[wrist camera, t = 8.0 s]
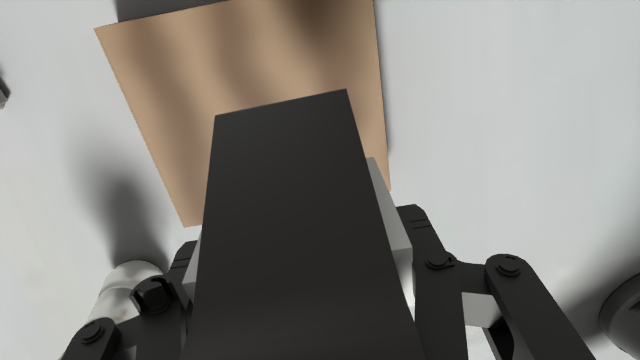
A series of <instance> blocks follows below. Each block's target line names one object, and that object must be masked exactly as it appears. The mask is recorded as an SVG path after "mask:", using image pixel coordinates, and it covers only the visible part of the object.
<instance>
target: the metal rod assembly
mask: <svg viewBox="0 0 640 360" xmlns="http://www.w3.org/2000/svg"><path fill="white" fill-rule="evenodd" d="M7 101H8V100H7V98H6V97H5V95H4V94H3V92H2V91H1V89H0V109H3V108H4V106H5V103H6V102H7Z"/></svg>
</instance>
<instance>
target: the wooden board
mask: <svg viewBox="0 0 640 360" xmlns="http://www.w3.org/2000/svg"><path fill="white" fill-rule="evenodd" d="M94 31H95V33H96V35H97V37H98V39H99V42H100V44H101V46H102V48H103V50H104V53H105V55H106V57H107V59H108V61H109V64H110V66H111V68H112V70H113V72H114V75H115V77H116V79H117V81H118V83H119V86H120V88H121V90H122V92H123V94H124V97H125V99H126V101H127V103H128V105H129V108H130V110H131V112H132V114H133V117H134V119H135V121H136V123H137V125H138V128H139V130H140V132H141V134H142V136H143V139H144V141H145V143H146V145H147V147H148V150H149V152H150V154H151V156H152V158H153V161H154V163H155V165H156V167H157V169H158V172H159V174H160V176H161V178H162V180H163V183H164V185H165V187H166V189H167V191H168V194H169V196H170V198H171V200H172V202H173V205H174V207H175V209H176V211H177V214H178V216H179V218H180V220H181V222H182V225H183V227H184V228H185V227H190V226H196V225H202V223H203V214H204V206H205V197H206V188H207V180H208V171H209V162H210V153H211V145H212V136H213V127H214V119H215V115H218V114H223V113H228V112H233V111H238V110H243V109H247V108H252V107H257V106H262V105H267V104H272V103H277V102H281V101H286V100H291V99H296V98H301V97H306V96H311V95H315V94H320V93H325V92H330V91H335V90H340V89H345V88H346V89H347V93H348V96H349V100H350V103H351V107H352V111H353V114H354V118H355V121H356V125H357V129H358V132H359V136H360V139H361V143H362V146H363V150H364V154H365V157H366V158H369V157H374V158H375V160H376V163H377V165H378V167H379V170H380V172H381V174H382V177H383V179H384V182H385V184H386V186H387V189H388V191H391V185H390V175H389V164H388V154H387V143H386V133H385V122H384V111H383V101H382V90H381V80H380V69H379V59H378V48H377V38H376V27H375V17H374V6H373V0H226V1H221V2H216V3H211V4H206V5H201V6H196V7H191V8H186V9H182V10H177V11H172V12H167V13H162V14H157V15H152V16H147V17H142V18H138V19H133V20H128V21H123V22H118V23H114V24H110V25H106V26H102V27H98V28H94Z"/></svg>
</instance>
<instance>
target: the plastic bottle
mask: <svg viewBox="0 0 640 360" xmlns="http://www.w3.org/2000/svg"><path fill="white" fill-rule="evenodd" d="M154 275H163V273H162V271H161V270H160V269H159V268H158V267H156V266H155V265H153V264H151V263H149V262H146V261H141V260H134V261H129V262H126V263H122V264H120V265H119V266H117V267H116V268H115V269H114V270H113V271H112V272H111V273H110V274H109V275H108V276H107V278H106V279H105V281H104V284H103V286H102V288H101V291H100V294H99V297H98V300H97V302H96V304H95V306H94V307H93V309H92V311H91V313H90V315H89V317H88V319H87V321H86V323H85V324H84V325H86V324H88V323H89V322H91V321H93V320H95V319H98V318H101V317H109V318H111V319H113V320H114V322H115V323H116V324H119V323H121V322H124V321H126V320H128V319H131V318H133V317H135V316H138V315H139V313H138V311H137V309H136V308H135V306H134V304H133V303H132V301H131V299H130V298H129V296H130V293H131V291H132V290H133V289H134V287H135V286H136V285H137V284H139V283H140V282H141V281H143V280H144V279H146V278H148V277H151V276H154ZM64 353H65V352H64ZM64 353H63V354H64ZM63 354H62V356H63ZM62 356H61V357H60V358H59V359H58V360H61V358H62Z"/></svg>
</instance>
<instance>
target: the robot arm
mask: <svg viewBox="0 0 640 360" xmlns="http://www.w3.org/2000/svg"><path fill="white" fill-rule="evenodd" d="M366 161H367V164H368V168H369V172H370V175H371V179H372V182H373V186H374V189H375V193H376V197H377V200H378V204H379V207H380V211H381V215H382V218H383V222H384V225H385V229H386V232H387V236H388V240H389V243H390V247H391V250H392V254H393V258H394V261H395V265H396V268H397V272H398V275H399V279H400V282H401V285H402V289H403V292H404V295H405V298H406V301H407V304H408V307H411V306H415V322H414V323H415V326H416V329H417V332H418V335H419V338H420V341H421V344H422V347H423V351H424V354H425V358H426V360H468V350H467V340H466V330H465V325H469V326H476V327H482V329H483V332H484V334H485V336H486V338H487V341H488V343H489V345H490V347H491V350H492V352H493V354H494V356H495V359H496V360H596V359H595V357H594V356H593V354H592V353H591V351H590V350H589V349H588V347H587V346H586V344H585V343H584V341H583V340H582V339H581V337H580V336H579V334H578V333H577V332H576V330H575V329H574V327H573V326H572V324H571V323H570V322H569V320H568V319H567V317H566V316H565V314H564V313H563V312H562V310H561V309H560V307H559V306H558V304H557V303H556V302H555V300H554V299H553V297H552V296H551V294H550V293H549V292H548V290H547V289H546V287H545V286H544V284H543V283H542V282H541V280H540V279H539V277H538V276H537V274H536V273H535V272H534V270H533V269H532V267H531V266H530V265H529V264H528V263H527V262H526V261H525V260H523V259H521V258H519V257H517V256H514V255H510V254H497V255H493V256H491V257H490V258H488V259H487V261H486V263H485V265H483V264H471V263H465V262H461V261H458V260H457V258H456V257H455V256H454V255H452V254H451V253H449V252H447V251H446V250H445V249H444V247H443V245H442V243H441V241H440V239H439V237H438V236H437V234H436V232H435V230H434V228H433V227H432V225H431V223H430V221H429V220H428V217H427V215H426V213H425V212H424V210H423V209H421V208H420V207H419V206H417V205H416V204H412V205H405V206H399V207H395V205H394V203H393V200H392V198H391V196H390V193H389V191H388V189H387V186H386V184H385V182H384V179H383V177H382V174H381V172H380V170H379V167H378V165H377V163H376V160H375V158H374V157H369V158H366ZM201 232H202V231H201ZM200 241H201V233H200V236H199V239H198V240H195V241H189V242H185V243H184V244H183V246H182V247H181V248H180V249H179V250H178V251H177V253H176V255H175V258H174V260H173V261H174V262H172V265H171V267H170V270H169V272H168V274H167V276H166V275H154V276H151V277H148V278H146V279H144V280H143V281H141V282H140V283H139V284H137V285H136V286H135V287H134V289H133V290H132V291H131V293H130V296H129V298H130V299H131V301H132V303H133V304H134V306H135V308H136V309H137V311H138V313H139V315H138V316H135V317H133V318H131V319H128V320H126V321H124V322H121V323H119V324H116V323H115V322H114V320H113V319H111V318H109V317H101V318H98V319H95V320H93V321H91V322H89V323H88V324H86V325H84V326H83V327H82V328H81V329H80V330H79V331H77V333H76V334H75V335H74V337H73V338H72V340H71V342H70V344H69V345H68V347H67V349H66V351H65V353H64V354H63V356H62V358H61V360H179V358H180V355H181V353H182V350H183V347H184V344H185V341H186V338H187V334H188V331H189V326H190V322H191V316H192V310H193V302H194V293H195V284H196V275H197V267H198V258H199V249H200ZM414 297H415V301H414ZM599 324H600V327H601V329H602V331H603V332H604V333H605V334H606V336H607V337H608V338H609V339H610V340H611V341H612V343H613V344H614V345H615V346H617V347H618V348H619V349H621V350H623V351H624V352H626V353H628V354H629V355H631V356H632V357H633V358H635V359H636V360H640V274H639V275H638V276H636V277H634V278H632V279H631V280H629V281H628V282H626V283H625V284H623V285H622V286H621V287H620V288H618V289H617V290H616V291H615V292H614V293H613V294H612V295H611V296H610V297H609V298H608V300H607V301H606V302H605V304H604V306H603V307H602V310H601V312H600V316H599Z"/></svg>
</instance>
